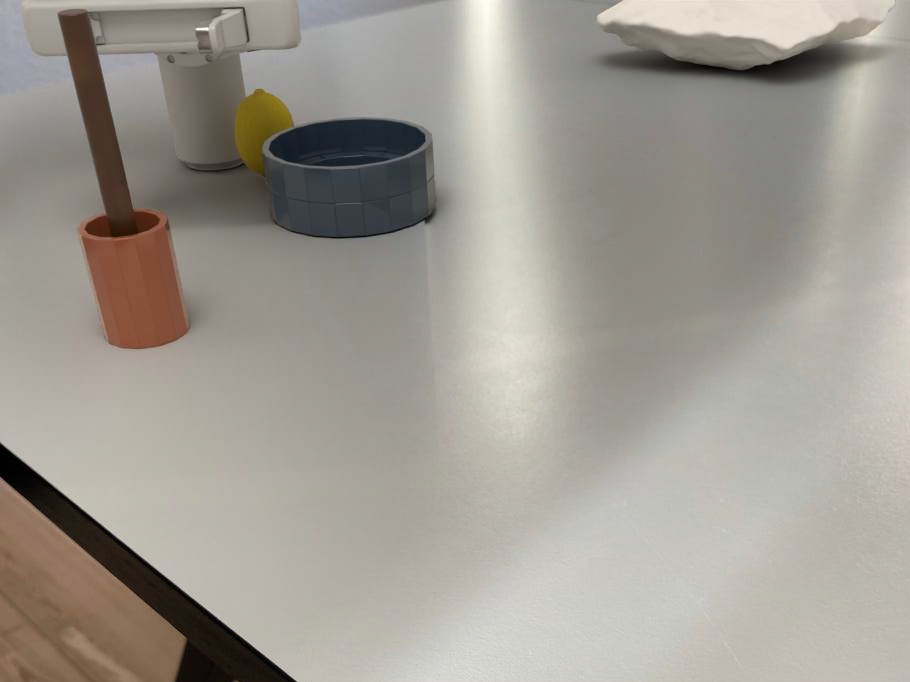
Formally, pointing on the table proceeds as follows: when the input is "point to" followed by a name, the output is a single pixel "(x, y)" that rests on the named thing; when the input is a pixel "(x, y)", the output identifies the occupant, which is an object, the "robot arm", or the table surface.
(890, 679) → the table surface
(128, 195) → the stick
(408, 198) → the bowl
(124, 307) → the holder
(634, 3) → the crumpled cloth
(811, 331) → the table surface
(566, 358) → the table surface
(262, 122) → the lemon
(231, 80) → the can
